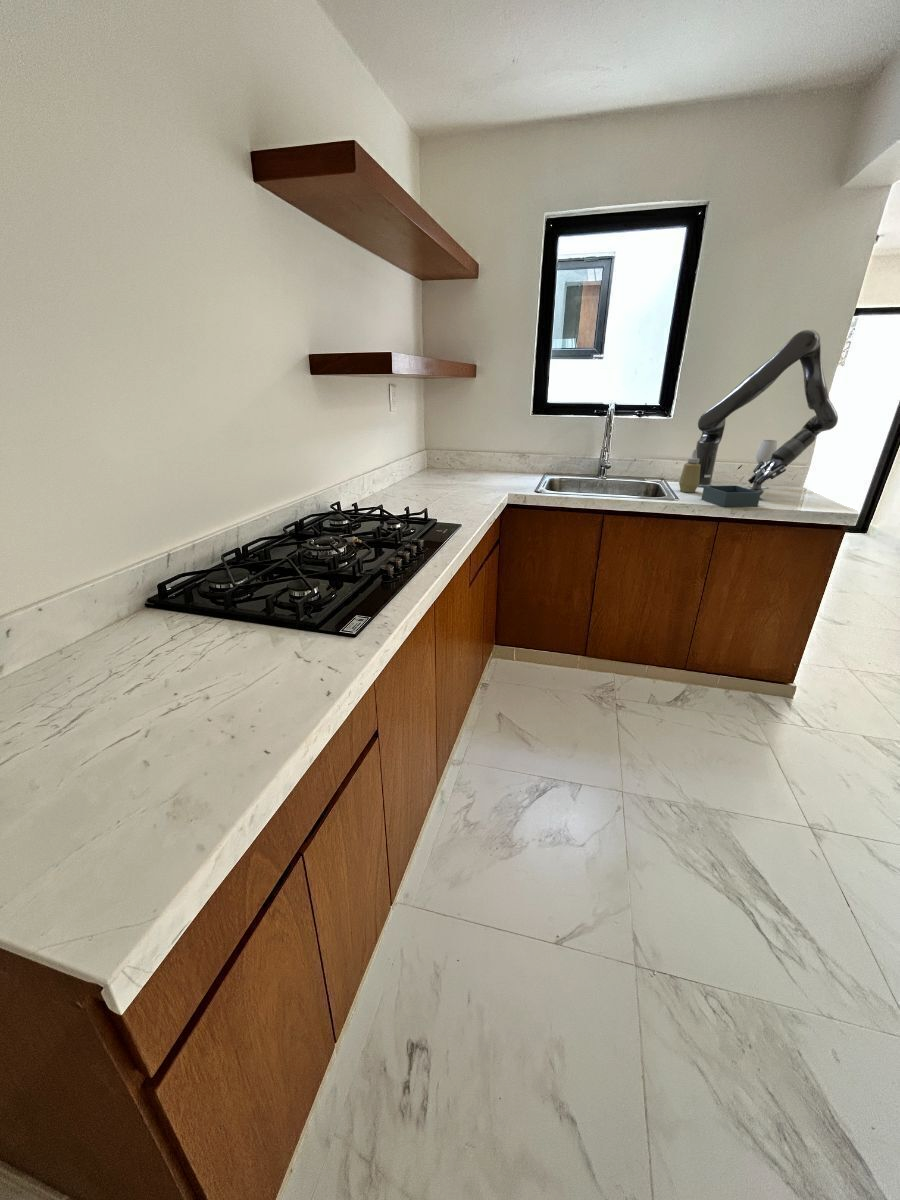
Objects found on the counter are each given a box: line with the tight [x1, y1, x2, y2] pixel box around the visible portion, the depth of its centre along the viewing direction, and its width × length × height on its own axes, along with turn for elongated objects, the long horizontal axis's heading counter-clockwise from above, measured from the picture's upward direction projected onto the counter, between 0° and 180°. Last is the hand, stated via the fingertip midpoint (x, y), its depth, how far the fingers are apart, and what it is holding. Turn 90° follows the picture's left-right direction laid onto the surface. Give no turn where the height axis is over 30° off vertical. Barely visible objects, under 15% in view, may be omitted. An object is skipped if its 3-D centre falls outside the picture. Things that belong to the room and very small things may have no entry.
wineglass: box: [749, 439, 778, 490], centre depth 230 cm, size 8×8×21 cm
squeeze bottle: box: [678, 449, 701, 494], centre depth 219 cm, size 8×8×18 cm
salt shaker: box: [750, 470, 765, 501], centre depth 207 cm, size 6×6×12 cm
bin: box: [701, 485, 762, 508], centre depth 200 cm, size 15×14×6 cm
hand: (753, 482), depth 206 cm, fingers open, 4 cm apart
